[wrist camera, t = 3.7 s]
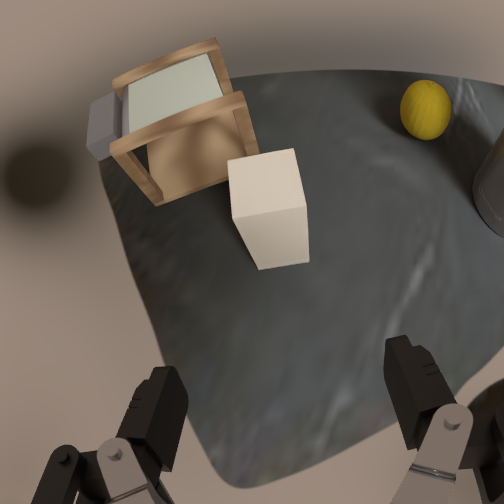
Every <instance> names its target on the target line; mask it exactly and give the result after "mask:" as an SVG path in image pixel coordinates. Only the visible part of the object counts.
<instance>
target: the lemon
mask: <svg viewBox="0 0 504 504" xmlns="http://www.w3.org/2000/svg"><path fill="white" fill-rule="evenodd" d="M400 116H401V120H402V123H403V125H404V127H405V128H406V130H407V131H408V132H409V133H410V134H411V135H413V136H414V137H416V138H419V139H422V140H431V139H434V138H437V137H438V136H440V135H441V134H442V133H443V132H444V131H445V129H446V127H447V126H448V124H449V121H450V117H451V102H450V98H449V96H448V94H447V92H446V91H445V90H444V89H443V88H442V87H441V86H440V85H439V84H437V83H435V82H433V81H430V80H419V81H417V82H414V83H413V84H411V85H410V86H409V87H408V89H407V90H406V92H405V94H404V96H403V98H402V101H401V106H400Z"/></svg>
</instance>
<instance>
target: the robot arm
mask: <svg viewBox="0 0 504 504" xmlns="http://www.w3.org/2000/svg"><path fill="white" fill-rule="evenodd" d="M472 192H473V198H474V202H475V205H476V207H477V209H478V211H479V213H480V215H481V216H482V218H483V220H484V221H485V222H486V223H487V224H488V226H489V227H490V228H491V229H492V230H494V231H495V232H496V233H497V234H499V235H501V236H502V237H504V128H503V130H502V132H501V133H500V135H499V137H498V139H497V140H496V142H495V144H494V145H493V147H492V149H491V150H490V152H489V154H488V155H487V157H486V158H485V160H484V162H483V163H482V165H481V166H480V168H479V170H478V171H477V173H476V174H475V176H474V179H473V183H472ZM384 379H385V383H386V386H387V389H388V392H389V394H390V397H391V400H392V403H393V406H394V409H395V412H396V415H397V418H398V421H399V424H400V428H401V431H402V434H403V437H404V440H405V444H406V447H407V450H411V449H415V448H417V451H418V453H417V455H416V457H415V459H414V461H413V464H412V466H411V467H410V468H409V470H408V472H407V474H406V476H405V478H404V480H403V481H402V483H401V485H400V487H399V489H398V491H397V492H396V494H395V496H394V498H393V499H392V501H391V503H390V504H446V503H447V501H448V499H449V496H450V494H451V492H452V489H453V487H454V484H455V481H456V477H455V476H456V473H457V470H458V469H471V468H473V471H474V474H475V478H476V481H477V484H478V488H479V492H480V496H481V500H482V503H483V504H504V402H502V403H501V404H500V405H499V406H498V408H497V410H496V411H491V412H470V410H469V409H468V408H466V407H465V406H463V405H460V404H457V402H456V400H455V398H454V396H453V394H452V392H451V391H450V389H449V387H448V385H447V383H446V381H445V379H444V377H443V375H442V373H440V369H439V368H438V366H437V364H436V362H435V360H434V358H433V357H432V355H431V353H430V352H429V351H428V350H426V349H425V348H424V347H422V346H421V345H418V346H414V347H412V345H411V343H410V341H409V339H408V337H407V336H406V335H402V336H397V337H393V338H388V339H386V342H385V356H384ZM187 409H188V394H187V391H186V389H185V387H184V385H183V383H182V381H181V379H180V377H179V374H178V372H177V370H176V368H175V367H173V366H165V367H155V368H154V369H153V371H152V373H151V376H150V378H149V380H144V381H143V382H142V383H141V384H140V385H139V386H138V387H137V388H136V390H135V392H134V395H133V397H132V401H131V402H130V404H129V409H127V411H126V413H125V416H124V418H123V421H122V423H121V426H120V428H119V430H118V433H117V435H116V437H115V438H112V439H109V440H107V441H106V442H104V443H103V444H102V445H101V446H100V447H99V449H98V450H96V451H89V452H82V453H79V451H78V450H77V449H76V448H75V447H74V446H72V445H62V446H60V447H58V448H57V449H55V450H54V451H53V453H52V454H51V456H50V459H49V461H48V463H47V466H46V468H45V470H44V473H43V475H42V478H41V480H40V482H39V485H38V487H37V490H36V492H35V495H34V497H33V500H32V503H31V504H73V502H74V499H75V496H76V493H77V491H78V492H79V495H78V498H77V501H76V504H175V503H174V502H173V500H172V498H171V497H170V495H169V493H168V492H167V490H166V488H165V487H164V485H163V483H162V481H161V480H160V478H159V477H160V473H161V471H165V472H172V468H173V464H174V460H175V456H176V452H177V448H178V444H179V440H180V436H181V432H182V428H183V424H184V420H185V416H186V413H187Z"/></svg>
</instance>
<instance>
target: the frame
mask: <svg viewBox="0 0 504 504" xmlns="http://www.w3.org/2000/svg"><path fill="white" fill-rule="evenodd" d="M207 51H208V52H209V55H210V57H211V60H212V63H213V66H214V69H215V72H216V75H217V77H218V80H219V83H220V86H221V89H222V92H223V95H224V96H222V97H219V98H216V99H213V100H210V101H208V102H205V103H202V104H199V105H197V106H194V107H192V108H189V109H186V110H184V111H181V112H179V113H176V114H174V115H171V116H169V117H166V118H164V119H162V120H159V121H157V122H155V123H152V124H150V125H148V126H145V127H143V128H141V129H139V130H137V131H134V132H132V133H130V134H128V135H126V136H124V137H122V138H120V139H118V140H115V141H113V142H111V143H110V154H111V155H112V156H113V158H114V159H115V160H116V161H117V162H118V163H119V165H120V166H121V167H122V168H123V169H124V170H125V172H126V173H127V174H128V175H129V176H130V177H131V179H132V180H133V181H134V182H135V183H136V184H137V186H138V187H139V188H140V189H141V190H142V191H143V192H144V194H145V195H146V196H147V197H148V198H149V199H150V200H151V202H152V203H153V204H154V205H155V206H156V207H158V206H160V205H163V204H165V203H168V202H170V201H173V200H176V199H178V198H181V197H183V196H186V195H189V194H191V193H194V192H196V191H199V190H202V189H205V188H207V187H210V186H213V185H215V184H218V183H221V182H224V181H227V180H229V175H228V163H227V161H229V160H234V159H239V158H244V157H249V156H254V155H259V154H260V153H259V149H258V145H257V141H256V138H255V134H254V130H253V126H252V123H251V119H250V115H249V112H248V108H247V104H246V101H245V98H244V95H243V93H242V91H241V90H240V91H237V92H233V89H232V86H231V82H230V79H229V76H228V73H227V70H226V67H225V63H224V60H223V57H222V54H221V51H220V47H219V44H218V42H217V39H216V38H212V39H209V40H206V41H203V42H201V43H197V44H195V45H192V46H189V47H186V48H184V49H181V50H178V51H176V52H173V53H171V54H168V55H166V56H163V57H161V58H158V59H156V60H154V61H152V62H149V63H147V64H144V65H142V66H140V67H138V68H136V69H133V70H131V71H129V72H127V73H125V74H123V75H121V76H119V77H117V78H115V79H113V81H112V86H113V87H114V89H115V90H116V91H117V93H118V95H119V96H120V98H121V99H122V89H123V87H124V86H125V85H128V84H129V83H131V82H133V81H135V80H137V79H140V78H142V77H144V76H146V75H149V74H151V73H153V72H155V71H158V70H160V69H163V68H165V67H167V66H170V65H172V64H175V63H177V62H180V61H183V60H185V59H188V58H191V57H193V56H196V55H199V54H202V53H205V52H207ZM146 143H147V152H148V161H149V170H150V174H149V173H148V172H147V171H146V169H145V168H144V167H143V165H142V164H141V163H140V161H139V160H138V159H137V158H136V156H135V155H134V154H133V152H132V151H131V150H133V149H135V148H137V147H139V146H142V145H144V144H146Z"/></svg>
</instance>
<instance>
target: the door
mask: <svg viewBox="0 0 504 504" xmlns="http://www.w3.org/2000/svg"><path fill="white" fill-rule="evenodd" d="M222 96H223V94H222V91H221V89H220V86H219V84H218V81H217V79H216V76H215V74H214V71H213V69H212V66H211V64H210V61H209V59H208V56H207V54H203V55H200V56H198V57H195V58H192V59H189V60H186V61H184V62H181V63H179V64H176V65H173V66H171V67H168V68H166V69H164V70H161V71H159V72H157V73H154V74H152V75H149V76H147V77H145V78H143V79H140V80H138V81H136V82H134V83H132V84H130V85H125V86H124V87H123V89H122V101H121V100H120V98H119V97H118V95H117V94H116V93H115V91H113V92H111V93H109V94H108V95H106V96H104V97H102V98H100V99H98V100H96V101H94V102H93V103H91V105H90V113H89V122H88V132H87V142H86V147H87V148H88V150H89V151H90V152H91V153H92V154H93V155H94V156H95V157H96V159H97V160H98V161H101V160H103V159H105V158H107V157H109V156H111V154H110V143H111V142H113V141H115V140H118V139H120V138H122V137H124V136H126V135H128V134H130V133H132V132H134V131H137V130H139V129H141V128H143V127H145V126H148V125H150V124H152V123H155V122H157V121H159V120H162V119H164V118H166V117H169V116H171V115H174V114H176V113H179V112H181V111H184V110H186V109H189V108H192V107H194V106H197V105H199V104H202V103H205V102H208V101H210V100H213V99H216V98H219V97H222Z"/></svg>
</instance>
